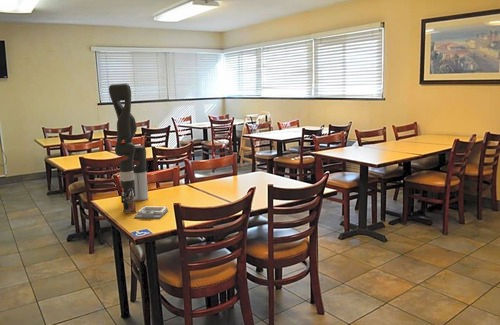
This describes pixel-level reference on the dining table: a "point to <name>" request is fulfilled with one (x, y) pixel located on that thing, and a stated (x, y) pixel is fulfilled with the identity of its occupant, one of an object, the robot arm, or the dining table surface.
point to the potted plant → (130, 205)
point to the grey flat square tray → (151, 212)
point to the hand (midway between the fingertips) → (129, 207)
